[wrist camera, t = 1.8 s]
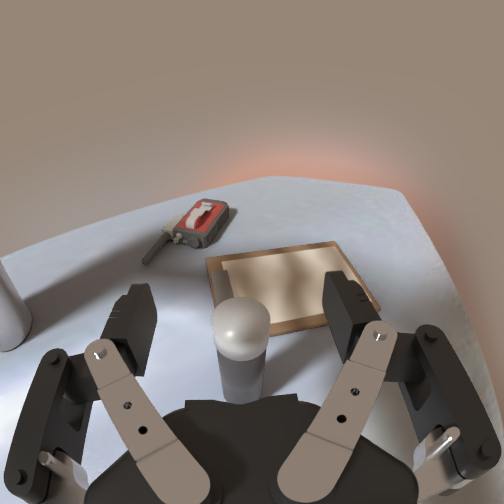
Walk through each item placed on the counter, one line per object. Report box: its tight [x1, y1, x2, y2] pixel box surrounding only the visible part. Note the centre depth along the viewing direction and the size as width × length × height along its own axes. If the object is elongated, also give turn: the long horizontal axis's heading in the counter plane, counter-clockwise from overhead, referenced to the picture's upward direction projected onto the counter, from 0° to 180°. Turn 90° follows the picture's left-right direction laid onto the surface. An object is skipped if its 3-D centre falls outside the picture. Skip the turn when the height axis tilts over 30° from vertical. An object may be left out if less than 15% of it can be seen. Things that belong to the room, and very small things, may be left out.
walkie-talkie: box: [142, 199, 229, 264], centre depth 51 cm, size 9×4×20 cm
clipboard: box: [206, 241, 381, 337], centre depth 42 cm, size 22×16×2 cm
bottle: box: [211, 297, 270, 404], centre depth 25 cm, size 4×4×14 cm
